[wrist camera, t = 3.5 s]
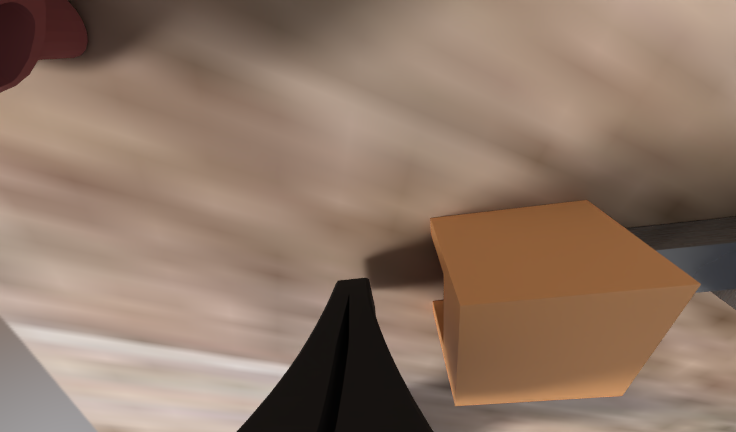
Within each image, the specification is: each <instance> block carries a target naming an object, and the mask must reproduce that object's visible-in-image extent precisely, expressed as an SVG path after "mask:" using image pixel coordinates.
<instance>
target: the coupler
mask: <svg viewBox="0 0 736 432" xmlns="http://www.w3.org/2000/svg"><path fill="white" fill-rule="evenodd" d="M626 229H627V230H628V231H630V232H631V233H632V234H634V235H635V236H637V237H638V238H639V239H641V240H642V241H643V242H645V243H646V244H647V245H649V246H650V247H651V248H653V249H654V250H656V251H657V252H658V253H660V254H661V255H662V256H664V257H665V258H666V259H668V260H669V261H671V262H672V263H673V264H675V265H676V266H677V267H679V268H680V269H681V270H683V271H684V272H685V273H687V274H688V275H690V276H691V277H692V278H694V279H695V280H696V281H698V282H699V283H700V284H701V285H700V287H699V288H698V289H697V291H696V292H708V291H711V292H712V293H713V294H715V295H716V296H718V297H719V298H720V299H722V300H723V301H724V302H726V303H727V304H728V305H730V306H731V307H732V308H734V309H735V310H736V217H729V218H720V219H710V220H701V221H692V222H682V223H673V224H664V225H654V226H645V227H636V228H626ZM696 292H695V293H696Z"/></svg>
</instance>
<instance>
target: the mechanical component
mask: <svg viewBox="0 0 736 432" xmlns="http://www.w3.org/2000/svg"><path fill="white" fill-rule="evenodd" d="M87 43H88V38H87V31H86V28H85V26H84V23H83V21H82V19H81V17H80V16H79V14H78V13H77V11H76V10H75V9H74V7H73V6H72V5H71V4H70V3H69V2H68V1H67V0H0V92H2V91H5V90H7V89H9V88H12V87H14V86H16V85H17V84H19V83H20V82H21V81H22V80H23V79H24V78H26V77H27V76H28V75H29V74H30V73H31V71H32V69H33V68H34V66H35V64H36V63H37V61H38V60H43V59H60V58H75V57H78V56H80V55H82V54H83V52H84V51H85V50H86V47H87Z"/></svg>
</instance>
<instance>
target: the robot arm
mask: <svg viewBox="0 0 736 432" xmlns="http://www.w3.org/2000/svg"><path fill="white" fill-rule="evenodd" d="M237 432H433V430H432V429H431V427H430V426H429V424H428V422H427V421H426V419H425V417H424V416H423V414H422V412H421V411H420V409H419V407H418V406H417V404H416V402H415V400H414V399H413V397H412V395H411V393H410V391H409V389H408V388H407V386H406V384H405V382H404V380H403V378H402V377H401V375H400V373H399V371H398V369H397V367H396V364H395V362H394V360H393V358H392V356H391V354H390V352H389V349H388V347H387V345H386V342H385V340H384V338H383V335H382V332H381V330H380V327H379V324H378V322H377V319H376V314H375V305H374V301H373V296H372V291H371V286H370V282H369V279H367V278H359V279H349V280H340V281H338V282H337V283H336V285H335V287H334V290H333V292H332V294H331V297H330V299H329V301H328V303H327V305H326V307H325V309H324V311H323V313H322V315H321V317H320V319H319V321H318V323H317V325H316V326H315V328H314V330H313V332H312V333H311V335H310V337H309V338H308V340H307V342H306V343H305V345H304V347H303V348H302V350H301V351H300V353H299V354H298V356H297V357H296V359H295V360H294V362H293V363H292V365H291V366H290V368H289V369H288V370H287V372H286V373H285V374H284V376H283V377H282V378H281V380H280V381H279V382H278V384H277V385H276V386H275V388H274V389H273V390H272V392H271V393H270V394H269V395H268V396H267V398H266V399H265V400H264V401H263V402H262V403H261V405H260V406H259V407H258V408H257V409H256V411H255V412H254V413H253V414H252V415H251V416H250V418H249V419H248V420H247V421H246V422H245V423H244V424H243V425H242V426H241V428H240V429H239V430H238V431H237Z"/></svg>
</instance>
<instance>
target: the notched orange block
mask: <svg viewBox="0 0 736 432" xmlns="http://www.w3.org/2000/svg"><path fill="white" fill-rule="evenodd" d="M430 219H431V236H432V239H433V242H434V245H435V248H436V252H437V255H438V258H439V261H440V264H441V267H442V271H443V274H444V300H439V301H433V313H434V317H435V322H436V326H437V330H438V334H439V339H440V343H441V347H442V352H443V356H444V360H445V364H446V369H447V373H448V377H449V382H450V386H451V390H452V394H453V399H454V403H455V406H466V405H482V404H499V403H515V402H532V401H548V400H564V399H581V398H597V397H614V396H623V394H624V393H625V391H626V390H627V388H628V387H629V386H630V384H631V383H632V381H633V380H634V379H635V377H636V376H637V374H638V373H639V371H640V370H641V369H642V367H643V366H644V364H645V363H646V362H647V360H648V359H649V357H650V356H651V354H652V353H653V352H654V350H655V349H656V347H657V346H658V345H659V343H660V342H661V340H662V339H663V338H664V336H665V335H666V333H667V332H668V330H669V329H670V328H671V326H672V325H673V323H674V322H675V321H676V319H677V318H678V316H679V315H680V313H681V312H682V311H683V309H684V308H685V306H686V305H687V304H688V302H689V301H690V299H691V298H692V296H693V295H694V294H695V292H696V291H697V289H698V288H699V287H700V285H701V284H700V283H699V282H698V281H696V280H695V279H694V278H692V277H691V276H690V275H688V274H687V273H685V272H684V271H683V270H681V269H680V268H679V267H677V266H676V265H675V264H673V263H672V262H671V261H669V260H668V259H666V258H665V257H664V256H662V255H661V254H660V253H658V252H657V251H656V250H654V249H653V248H651V247H650V246H649V245H647V244H646V243H645V242H643V241H642V240H641V239H639V238H638V237H637V236H635V235H634V234H632V233H631V232H630V231H628V230H627V229H626V228H624V227H623V226H622V225H620V224H619V223H618V222H616V221H615V220H613V219H612V218H611V217H609V216H608V215H607V214H605V213H604V212H603V211H601V210H600V209H598V208H597V207H596V206H594V205H593V204H592V203H590V202H589V201H588V200H582V201H573V202H565V203H556V204H547V205H539V206H530V207H522V208H513V209H505V210H496V211H487V212H479V213H470V214H462V215H453V216H445V217H436V218H430Z"/></svg>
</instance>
